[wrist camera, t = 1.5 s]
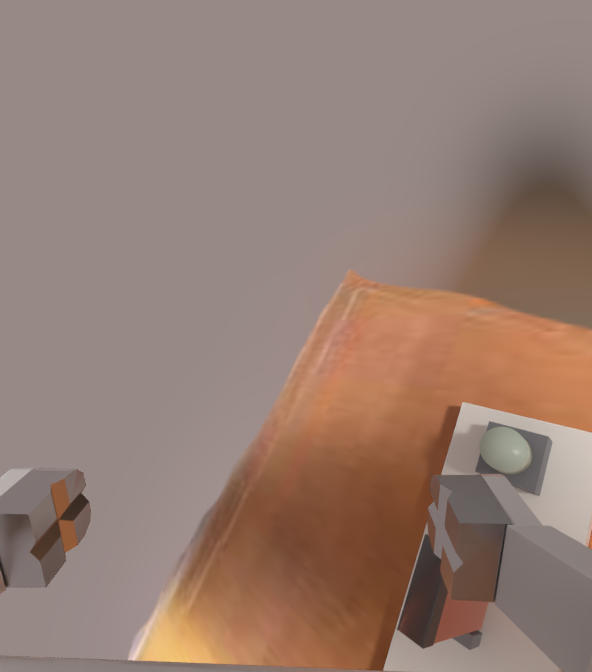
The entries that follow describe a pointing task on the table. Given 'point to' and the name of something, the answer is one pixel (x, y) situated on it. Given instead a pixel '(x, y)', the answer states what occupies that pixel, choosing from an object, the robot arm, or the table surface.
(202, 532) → the table surface
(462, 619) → the paddle
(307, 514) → the table surface
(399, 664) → the control panel
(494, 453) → the push button
